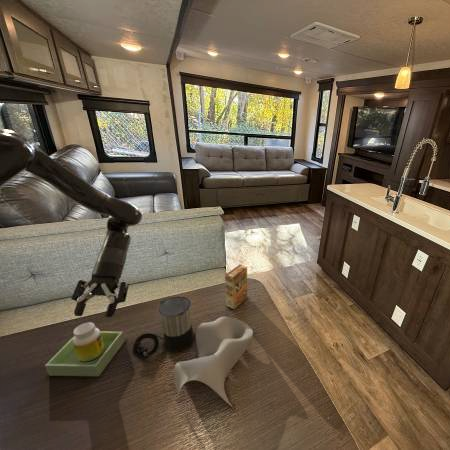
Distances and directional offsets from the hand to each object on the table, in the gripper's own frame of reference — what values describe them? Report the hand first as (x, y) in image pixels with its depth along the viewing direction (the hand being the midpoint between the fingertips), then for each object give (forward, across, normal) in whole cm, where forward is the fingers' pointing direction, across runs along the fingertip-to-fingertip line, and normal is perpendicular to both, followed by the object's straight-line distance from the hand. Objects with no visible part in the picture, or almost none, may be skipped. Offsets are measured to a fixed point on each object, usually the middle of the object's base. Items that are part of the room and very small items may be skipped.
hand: (93, 316), depth 74 cm
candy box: (-8, +38, +25) cm, 46 cm away
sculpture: (+12, +38, +5) cm, 40 cm away
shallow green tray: (+11, -1, +6) cm, 13 cm away
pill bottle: (+11, 0, +6) cm, 12 cm away
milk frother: (+8, +19, +10) cm, 23 cm away
